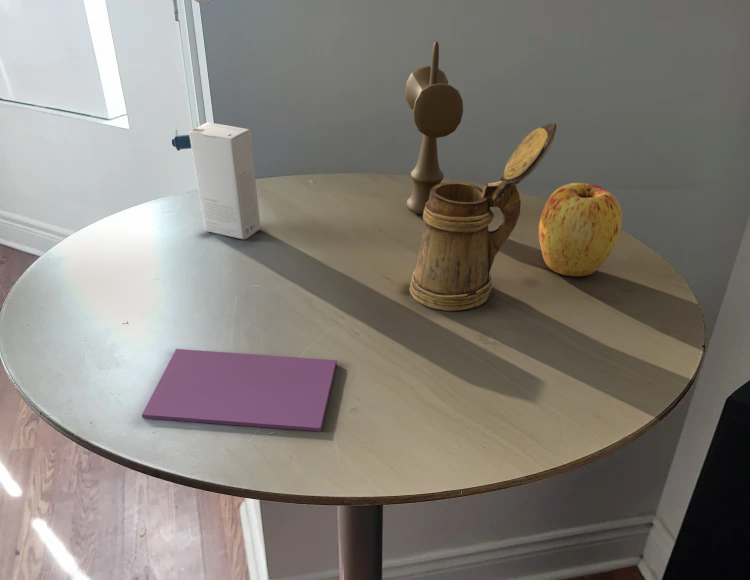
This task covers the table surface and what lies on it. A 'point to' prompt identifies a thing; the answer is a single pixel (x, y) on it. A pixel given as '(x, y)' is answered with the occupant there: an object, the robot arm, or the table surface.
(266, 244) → the table surface
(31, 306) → the table surface
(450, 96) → the kendama
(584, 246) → the apple
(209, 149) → the cosmetic box
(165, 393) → the purple rectangular board
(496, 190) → the wooden mug
